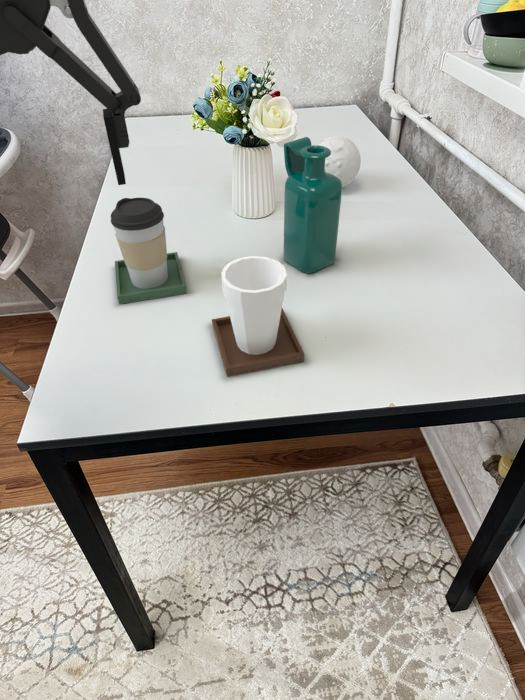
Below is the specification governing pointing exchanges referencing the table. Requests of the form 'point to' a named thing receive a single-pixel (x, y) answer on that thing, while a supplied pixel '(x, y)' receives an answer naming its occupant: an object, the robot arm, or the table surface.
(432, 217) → the table surface
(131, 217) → the coffee cup
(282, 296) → the foam cup
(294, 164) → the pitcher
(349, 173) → the decorative ball
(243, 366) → the walnut tray
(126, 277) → the sage tray
